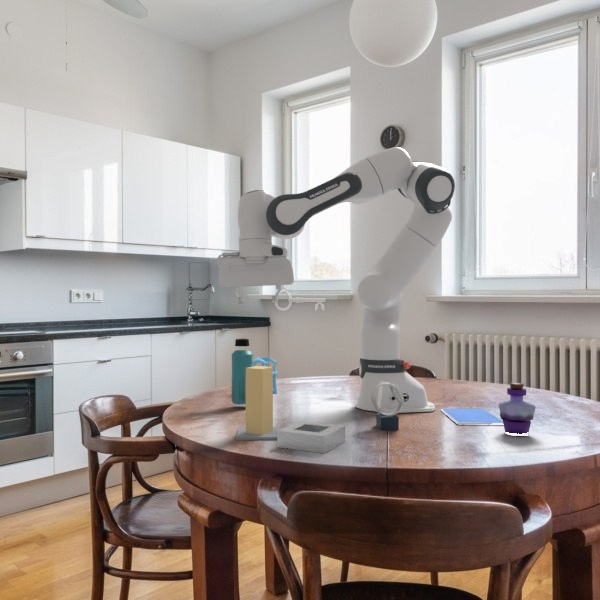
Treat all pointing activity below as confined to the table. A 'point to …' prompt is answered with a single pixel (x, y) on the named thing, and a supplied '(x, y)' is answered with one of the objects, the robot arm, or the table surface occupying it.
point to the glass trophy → (388, 419)
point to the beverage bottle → (240, 371)
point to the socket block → (311, 436)
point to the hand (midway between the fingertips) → (257, 303)
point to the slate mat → (256, 435)
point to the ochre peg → (259, 400)
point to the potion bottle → (516, 410)
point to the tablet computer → (471, 416)
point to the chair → (264, 362)
